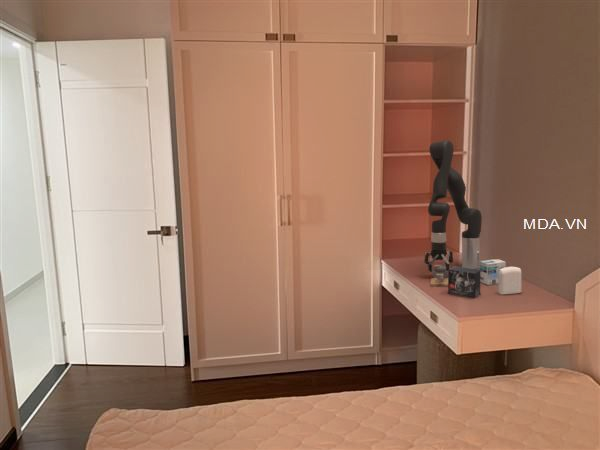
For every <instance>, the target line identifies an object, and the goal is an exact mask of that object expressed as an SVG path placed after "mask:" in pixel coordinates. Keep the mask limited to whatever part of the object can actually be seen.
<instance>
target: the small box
mask: <svg viewBox="0 0 600 450" xmlns="http://www.w3.org/2000/svg"><path fill="white" fill-rule="evenodd" d="M480 278H481V270H480V269H470V268H464V267H462V266H456V265H454V266H452V267H449V269H448V287H447V289H448V292H447V294H450V295H455V296H459V297H466V298H471V299H476V298H478V297H479V296H480V295H481V282H480Z"/></svg>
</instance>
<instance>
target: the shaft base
mask: <svg viewBox="0 0 600 450" xmlns="http://www.w3.org/2000/svg"><path fill="white" fill-rule="evenodd" d="M429 286H430V287H437V288H438V287H439V288H440V287H441V288H442V287H444V288H448V278H443V274H437V278H434V277H430V285H429Z"/></svg>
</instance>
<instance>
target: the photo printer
mask: <svg viewBox="0 0 600 450" xmlns="http://www.w3.org/2000/svg"><path fill="white" fill-rule="evenodd" d="M497 289H498V294H499V295H513V294H520V293H522V269H521V268H520V267H517V266H506V267H505V268H502V269H500V270H499V272H498V288H497Z"/></svg>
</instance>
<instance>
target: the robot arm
mask: <svg viewBox="0 0 600 450" xmlns="http://www.w3.org/2000/svg"><path fill="white" fill-rule="evenodd" d="M454 148H455V147H454V144H453V143H452V141H451V140H448V139H447V140H446V139H445V140H440V141H434V142H432V143H430V145H429V154H430V156H431V158H432V160H433V162H434V165H435V166H436V167H437V169H438V172H437V174H436V175H435V177H434V179H433V183H432V184H433V185H432V196H431V200H430V202H429V205H428V209H427V212H428V214H429V215H430V216H431V217H441V218H440V219H437V220H433V221H432V223H431V235H430V236H431V239H430V245H431V246H430V247H431V248H430V251H429V252H427V251H425V252H424V263H425V264H426V265H427V269H428V271H429V273H430V272H431V273H433V265H432V264H433V262H435V261H442V260H443V261H444V262H445V264H444V265H446V271H448V269H450V264H451V263H453V262H454V257H453V256H454V255H453V251H451V250H447V220H448V217H449V214H450V209H451V208H450V205H449V203H448V202H444V201H442V202H441V201H440V202H438V201H439V200H441V199H442V200H443V199H445V198H447V195H448V193H449V195H450V197H451V199H452V203H453V205H454V208H455V210H456V214H457V215H456V216H457V217H458V220H459V221H460V223H461V224H463V225H466V226H467V229H466V230H463V231H462V232H461V267H464V268H470V269H477V270H480V261H481V259H480V258H481V255H480V254H481V253H480V235H481V232H482V219H483V217H482V212H481V211H480V210H479V209H477V208H472V207H469V205H468V204H467V201H466V198H465V197H466V190H467V189H466V188H467V186H466V184H465V181H464V178H463V176H462V174H461V173H459V172H458V171H457V170H456V169H455V168H453V167H452V163H453V158H454V151H455V150H454ZM430 256H431V257H430ZM446 256H448V258H447V257H446ZM429 258H430V259H429Z"/></svg>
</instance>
